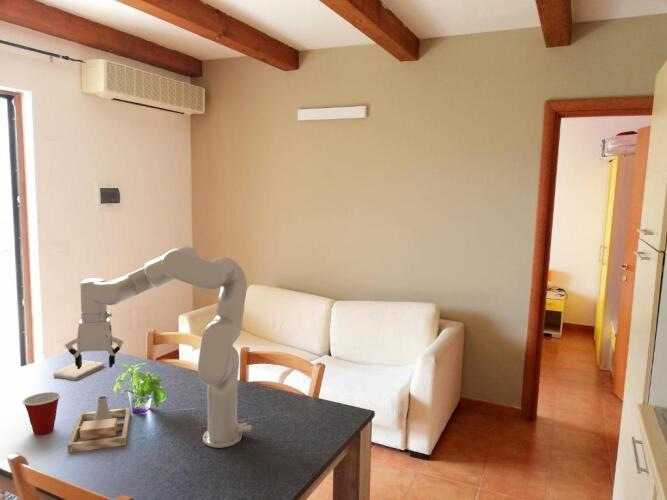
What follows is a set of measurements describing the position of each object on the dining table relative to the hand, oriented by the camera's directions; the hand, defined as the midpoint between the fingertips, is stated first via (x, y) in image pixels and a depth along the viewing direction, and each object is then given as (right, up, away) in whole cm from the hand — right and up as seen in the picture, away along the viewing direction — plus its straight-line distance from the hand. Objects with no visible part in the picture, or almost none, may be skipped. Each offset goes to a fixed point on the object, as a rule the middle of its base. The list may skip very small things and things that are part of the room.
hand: (95, 366), depth 163 cm
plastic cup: (-18, -22, +1) cm, 28 cm away
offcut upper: (+3, -20, -4) cm, 21 cm away
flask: (0, -22, +6) cm, 22 cm away
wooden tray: (+1, -22, +1) cm, 22 cm away
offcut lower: (+3, -23, -4) cm, 24 cm away
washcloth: (-32, -15, +52) cm, 63 cm away
